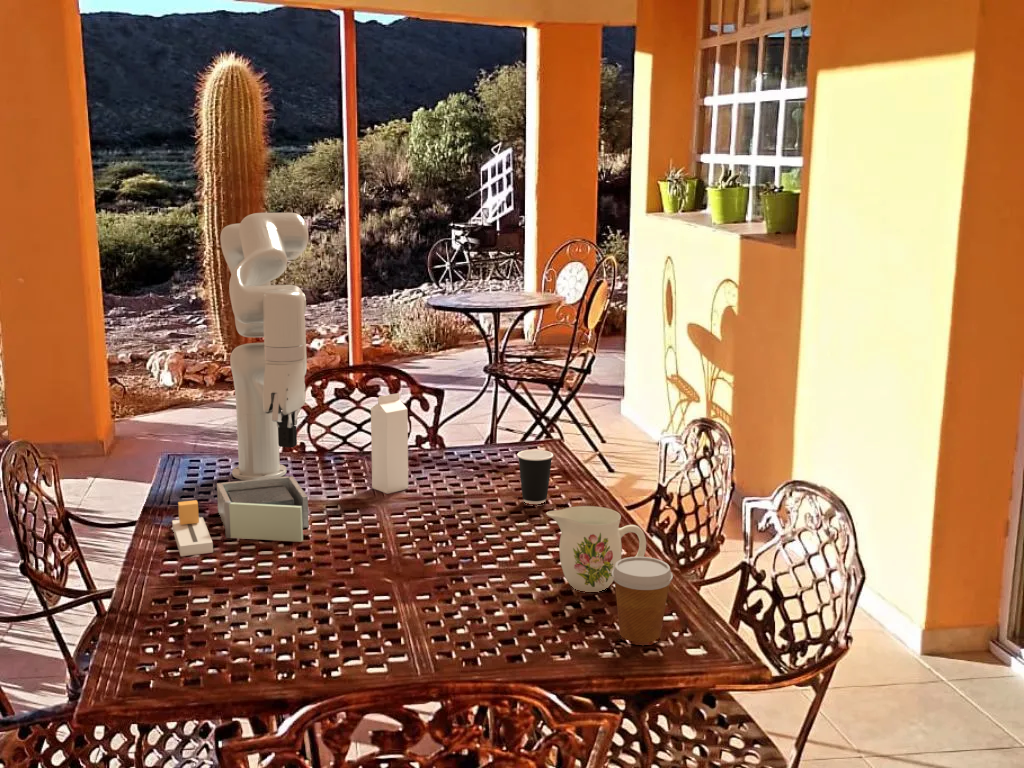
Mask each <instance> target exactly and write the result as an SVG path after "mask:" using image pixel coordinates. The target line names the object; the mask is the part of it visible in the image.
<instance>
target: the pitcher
mask: <svg viewBox="0 0 1024 768" xmlns="http://www.w3.org/2000/svg"><path fill="white" fill-rule="evenodd" d="M545 514H546V515H547V517H549V518H551V519H553V520H554V521H555V522H556V524H557V525H558V527H559V529H560V532H561V533H560V537H559V546H558V547H559V560H560V566H561V569H562V573H563V576H564V578H565V579H566V582H567V583H568V584H569V585H570V587H571V586H572V587H573V588H574V589H573V588H572V587H571V588H572V589H573V590H575V589H576V590H575V591H577V590H580V591H585V592H598V593H600V592H599V591H602V590H605V589H606V588H609V587H610V585H612V583H613V582H614V579H613V576H612V570H613V569H614V567H615V563H616V562H617V561H619V560H621V559H622V554H623V553H622V552H623V550H622V549H623V546H622V538H623V537H624V535H626V534H628V533H634V534H636V535H637V538H638V542H639V545H638V546H639V547H638V550H637V553H636V555H635V556H634V557H645V554H646V550H647V539H646V538H647V537H646V535H645V533H644V531H643V530H642V529H641V527H639V526H638V525H636V524H627V525H625V526H622V527H619V526H620V523H621V520H622V517H621V514H620V513H619V512H618V511H616V510H614V509H611V508H609V507H602V506H594V505H583V506H581V505H579V506H571V507H566V508H563V509H557V510H556V509H555V510H549V511H547V512H545ZM606 590H607V589H606ZM606 590H605V591H606ZM580 591H579V592H580ZM585 592H584V593H585ZM602 592H603V591H602Z"/></svg>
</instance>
